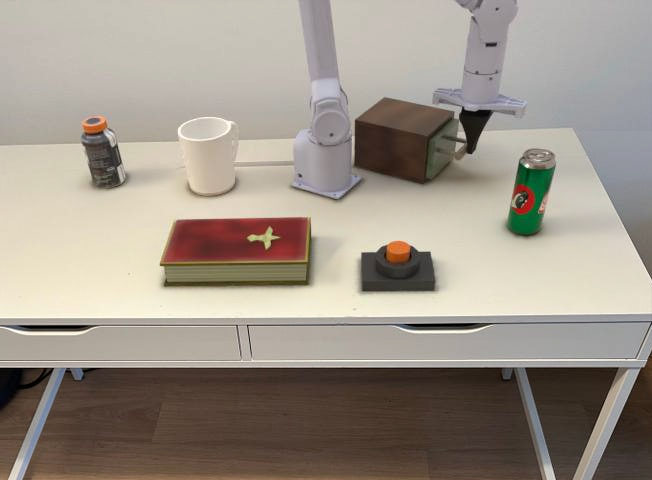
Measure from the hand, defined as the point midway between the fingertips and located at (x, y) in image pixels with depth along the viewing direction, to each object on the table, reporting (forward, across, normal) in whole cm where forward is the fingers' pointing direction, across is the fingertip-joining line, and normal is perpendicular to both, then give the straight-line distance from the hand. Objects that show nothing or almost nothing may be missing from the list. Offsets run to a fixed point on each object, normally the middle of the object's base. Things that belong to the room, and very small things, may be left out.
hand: (471, 151), depth 110 cm
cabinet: (+5, -13, +1) cm, 14 cm away
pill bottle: (+5, -58, -27) cm, 64 cm away
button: (+2, 0, -31) cm, 31 cm away
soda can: (+5, +13, -11) cm, 17 cm away
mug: (+5, -39, -20) cm, 44 cm away
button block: (+5, 0, -31) cm, 31 cm away
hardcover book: (+5, -22, -38) cm, 44 cm away
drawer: (+4, -9, +1) cm, 10 cm away
